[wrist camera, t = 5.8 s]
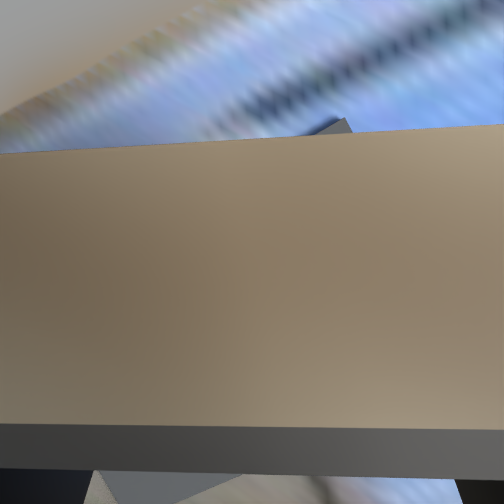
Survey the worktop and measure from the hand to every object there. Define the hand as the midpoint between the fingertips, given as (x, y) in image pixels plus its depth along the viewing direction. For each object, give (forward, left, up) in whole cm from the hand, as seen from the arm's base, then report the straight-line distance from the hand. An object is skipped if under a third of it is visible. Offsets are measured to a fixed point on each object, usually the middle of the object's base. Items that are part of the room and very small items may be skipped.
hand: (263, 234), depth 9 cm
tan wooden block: (-2, +1, -7) cm, 7 cm away
